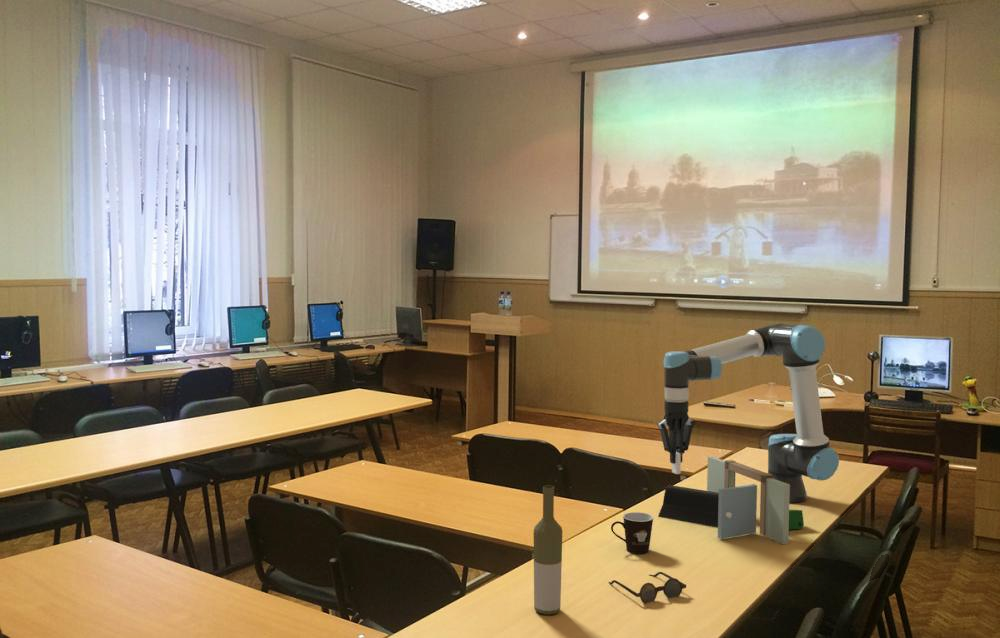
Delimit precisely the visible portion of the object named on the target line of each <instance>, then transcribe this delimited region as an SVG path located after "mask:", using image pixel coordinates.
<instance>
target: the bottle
mask: <svg viewBox="0 0 1000 638" xmlns="http://www.w3.org/2000/svg"><path fill="white" fill-rule="evenodd" d="M554 499H555V486H554V485H549V484H547V485H543V487H542V517H541V519H540V521H538V522H537V524H536V525H535V526H534V529H533V601H534V602H533V607H534V611H535V612H537V613H539V614H542V615H554V614H558V613H559V612H560V611H561V602H562V601H561V597H562V594H561V593H562V568H563V567H562V564H563V563H562V561H563V560H562V559H563V556H562V555H563V527H562V526H561V525H560V524H559V523H558V521H557V520H556V519H555V516H554V515H555V514H554V513H555V511H554V509H555V507H554V506H555V505H554V504H555V501H554Z"/></svg>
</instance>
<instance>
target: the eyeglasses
mask: <svg viewBox="0 0 1000 638" xmlns="http://www.w3.org/2000/svg"><path fill="white" fill-rule="evenodd" d="M659 575H662V576H665V577H666V578H668V579H667V580H666V582H665V583H664V584H663V585H660V586H656V585H654V584H653V583H651V582H645V583H644V584H643V585H642V586H641V587H640V590H639V592H636V591H634V590H632V589H631V588H629V587H628V586H626V585H625V584H623V583H621V582H620V581H617V580H615V579H614V580H611V581H608V584H609V585H610V586H612V585H613V584H614V583H615V584H616V585H618V586H620V587H621V588H622V589H624V590H626V591H627V592H628V593H630V594H631V595H632V596H635V597H637V598H640V600H641V603H642V604H644V605H645V604H649V603H651V602H652V603H653V602H655V600H656V598H657V596H658V593H659V592H661V591H663V594H664V596H665V597H666V598H667V599H670V598H676V597H677V598H678V597H680V596H681V594H682V591H683V590H684V589H686V588H687V584H685V583H683V582H681V581H679V579H678V578H674V577H672V576H671V575H668V574H667V573H665V572H662V571H658V572H656V573H655V574H648V576H650V577H653V578H656V577H658V576H659Z"/></svg>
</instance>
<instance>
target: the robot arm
mask: <svg viewBox="0 0 1000 638" xmlns="http://www.w3.org/2000/svg"><path fill="white" fill-rule="evenodd" d="M825 349H826V342H825V338H824V335H823V334H822V332H821V331H820V330H819V329H817V328H816V327H815V326H810V325H807V324H796V323H795V324H793V323H792V324H791V323H783V322H782V323H772V324H770V325H766V326H762V327H758V328H755V329H751V330H748V331H747V332H746V334H744V335H740V336H737V337H733V338H730V339H726V340H722V341H719V342H715V343H711V344H708V345H704V346H699V347H697V348H693V349H687V350H684V351H678V350H677V351H676V350H675V351H667V352H666V353H665V354H664V358H663V363H662V364H663V367H664V369H663V371H664V373H663V374H664V379H663V380H664V382H663V383H664V384H663V385H664V399H665V400H664V403H663V405H664V409H663V410H664V417H663V420H662V421H661V422H660V421H659V422H657V427H658V428H659V431H660V436H661V441H662V445H663V450H664V451H665V452H667V453H669V461H670V463H671V473H672V474H675V475H680V474H681V468H682V467H681V464H682V463H683V454H685V451H687V452H688V450H689V447H690V442H691V437H692V432H693V428H694V426H695V424H696V421H695V420H692V419H690V417H689V414H688V413H689V401H688V400H689V397H690V396H689V394H690V393H689V387H690V386H689V383H690V382H691V381H707V380H708V381H711V380H714V379H715V380H716V379H718V378H720V376H721V375H722V372H723V365H722V364H727V363H730V362H734V361H738V360H740V359H744V358H748V357H752V356H753V357H755V358H759V357H763V356H776V357H781V358H782V364H783V367H784V368H785V369H787V370H788V373H789V374H788V376H789V383H790V390H791V391H790V392H791V398H792V406H793V407H792V408H793V414H794V415H793V416H794V422H795V432H796V433H778V434H773V435H770V437H769V439H768V445H767V449H768V451H767V455H768V456H767V459H768V460H767V473H770V474H772V475H773V479H776V480H779V481H781V482H784V483H787V484H790V497H789V504H790V503H802V502H805V501H807V495H808V493H807V490H806V487H805V484H804V483H805V482H804V481H803V476H804V477H807V478H809V479H811V480H817V481H826V480H829V479H830V478H832V477H833V476H834V475H835V473H836V472H837V470H838V468H839V464H840V457H839V454H838V452H837V451H835V449H834V448H831V445H830V438H829V437H828V436H826V435H825V433H824V426H823V420H822V419H823V418H822V411H821V410H822V409H821V403H820V402H821V401H820V393H819V386H818V376H817V366H818V365H819V364H820V359H821V358H822V356H823V355H824V352H825ZM667 427H668V428H667Z"/></svg>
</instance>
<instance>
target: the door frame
mask: <svg viewBox="0 0 1000 638" xmlns="http://www.w3.org/2000/svg"><path fill="white" fill-rule="evenodd" d="M706 474H707V475H706V477H707V478H706V479H707V480H706V481H707V482H706V491H711V492H717V493H719V489H724V488H731V487H736V474H738V475H741V476H743V477H744V476H745V477H747V478H749V479H751V480H755V481H757V482H760V503H759V504H760V505H759V507H760V508H759V535H762V536H763V537H766V538H769V539H771V540H773V541H775V542H777V543H779V544H782V545H788V544H789V510H790V503H789V497H790V484H787V483H784V482H781V481H779V480H776V479H773V475H772V474H770V473H768V472H764V471H762V470H759V469H757V468H753V467H752V466H748V465H745V464H743V463H739V462H737V461H736V460H733V459H729V460H724V459H722V458H718V457H715V456H707V473H706Z"/></svg>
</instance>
